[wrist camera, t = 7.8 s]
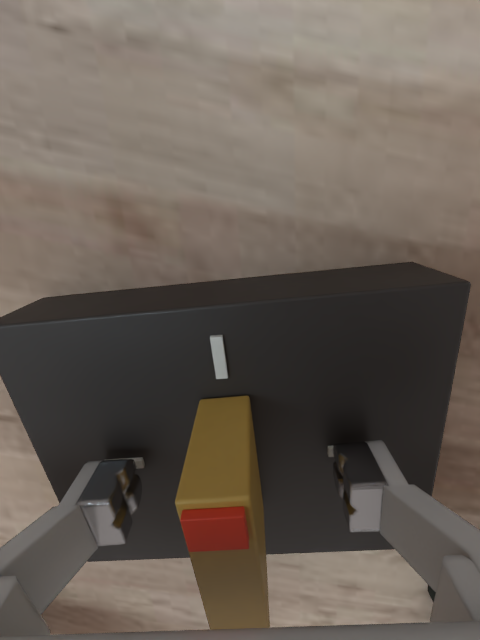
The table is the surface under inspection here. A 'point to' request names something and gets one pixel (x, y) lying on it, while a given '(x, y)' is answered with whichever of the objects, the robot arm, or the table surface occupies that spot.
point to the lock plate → (241, 388)
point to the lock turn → (225, 515)
